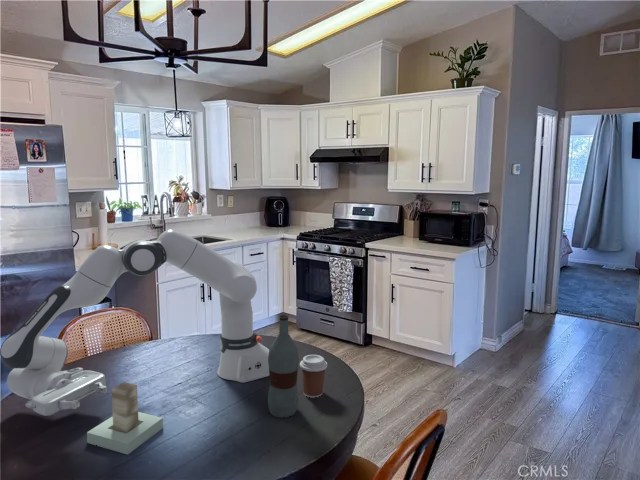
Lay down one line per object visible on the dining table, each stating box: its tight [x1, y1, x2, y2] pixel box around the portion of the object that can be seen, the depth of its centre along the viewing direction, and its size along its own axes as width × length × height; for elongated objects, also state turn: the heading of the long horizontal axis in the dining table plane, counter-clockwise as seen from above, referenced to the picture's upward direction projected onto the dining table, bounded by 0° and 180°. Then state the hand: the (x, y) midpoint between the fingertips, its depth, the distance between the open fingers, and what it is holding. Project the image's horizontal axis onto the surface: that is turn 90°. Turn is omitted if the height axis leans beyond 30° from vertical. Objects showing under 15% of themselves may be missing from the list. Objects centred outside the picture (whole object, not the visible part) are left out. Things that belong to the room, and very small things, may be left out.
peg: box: [110, 381, 139, 434], centre depth 125 cm, size 4×4×14 cm
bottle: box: [267, 314, 300, 419], centre depth 138 cm, size 9×9×30 cm
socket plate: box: [86, 411, 164, 456], centre depth 126 cm, size 14×14×3 cm
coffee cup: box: [299, 354, 328, 399], centre depth 151 cm, size 9×9×12 cm
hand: (91, 397), depth 128 cm, fingers open, 8 cm apart
